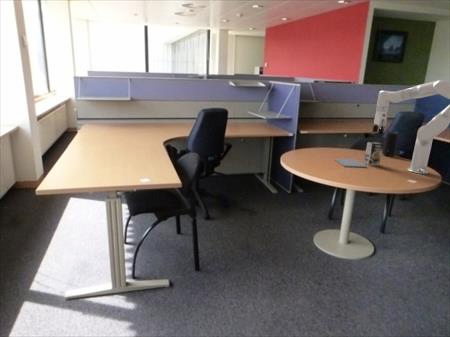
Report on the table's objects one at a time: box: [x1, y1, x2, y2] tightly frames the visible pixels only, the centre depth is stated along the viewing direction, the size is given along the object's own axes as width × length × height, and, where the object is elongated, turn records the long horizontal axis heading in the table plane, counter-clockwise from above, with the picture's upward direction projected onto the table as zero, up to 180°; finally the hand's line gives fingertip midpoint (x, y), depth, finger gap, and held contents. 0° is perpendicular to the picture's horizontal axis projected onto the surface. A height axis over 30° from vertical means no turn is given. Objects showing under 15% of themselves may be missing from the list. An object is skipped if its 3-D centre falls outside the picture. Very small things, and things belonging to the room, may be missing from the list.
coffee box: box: [363, 141, 384, 167], centre depth 248 cm, size 9×6×16 cm
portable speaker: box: [382, 130, 399, 158], centre depth 279 cm, size 9×9×20 cm
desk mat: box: [333, 157, 368, 169], centre depth 249 cm, size 20×16×1 cm
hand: (377, 133), depth 246 cm, fingers open, 9 cm apart
